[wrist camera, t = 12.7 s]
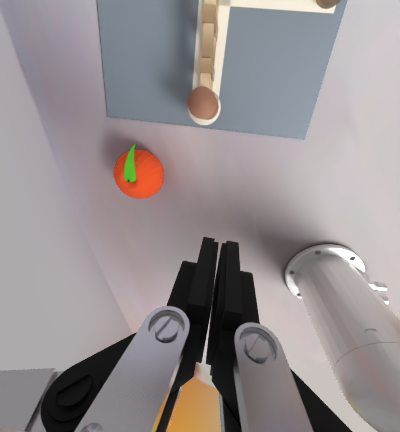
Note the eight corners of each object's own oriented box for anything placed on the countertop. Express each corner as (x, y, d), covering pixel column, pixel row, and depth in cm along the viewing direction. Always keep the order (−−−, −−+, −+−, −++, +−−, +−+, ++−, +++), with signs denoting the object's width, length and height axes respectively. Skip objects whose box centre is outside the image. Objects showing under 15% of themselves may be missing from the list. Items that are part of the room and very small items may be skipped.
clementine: (126, 136, 30) (98, 139, 24) (171, 142, 30) (155, 147, 23) (128, 186, 34) (105, 201, 27) (168, 193, 33) (154, 209, 27)
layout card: (379, -107, 18) (381, -110, 18) (303, 139, 27) (304, 139, 27) (88, -114, 20) (86, -118, 20) (108, 116, 29) (107, 116, 29)
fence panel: (201, -5, 22) (192, -49, 16) (228, -5, 22) (229, -49, 16) (195, 119, 27) (187, 117, 22) (217, 120, 27) (214, 119, 21)
